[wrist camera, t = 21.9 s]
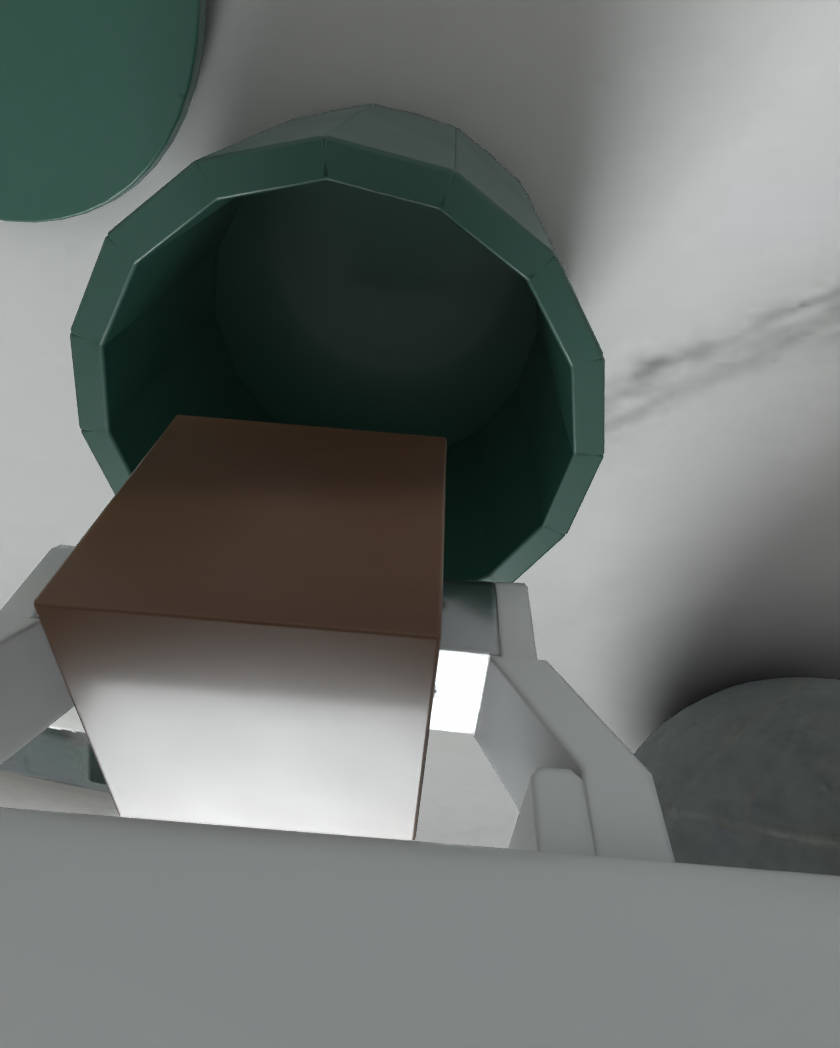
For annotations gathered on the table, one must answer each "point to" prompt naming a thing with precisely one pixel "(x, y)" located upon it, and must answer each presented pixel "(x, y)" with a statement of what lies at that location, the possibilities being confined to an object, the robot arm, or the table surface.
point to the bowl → (753, 776)
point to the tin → (355, 319)
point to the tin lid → (90, 98)
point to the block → (261, 627)
